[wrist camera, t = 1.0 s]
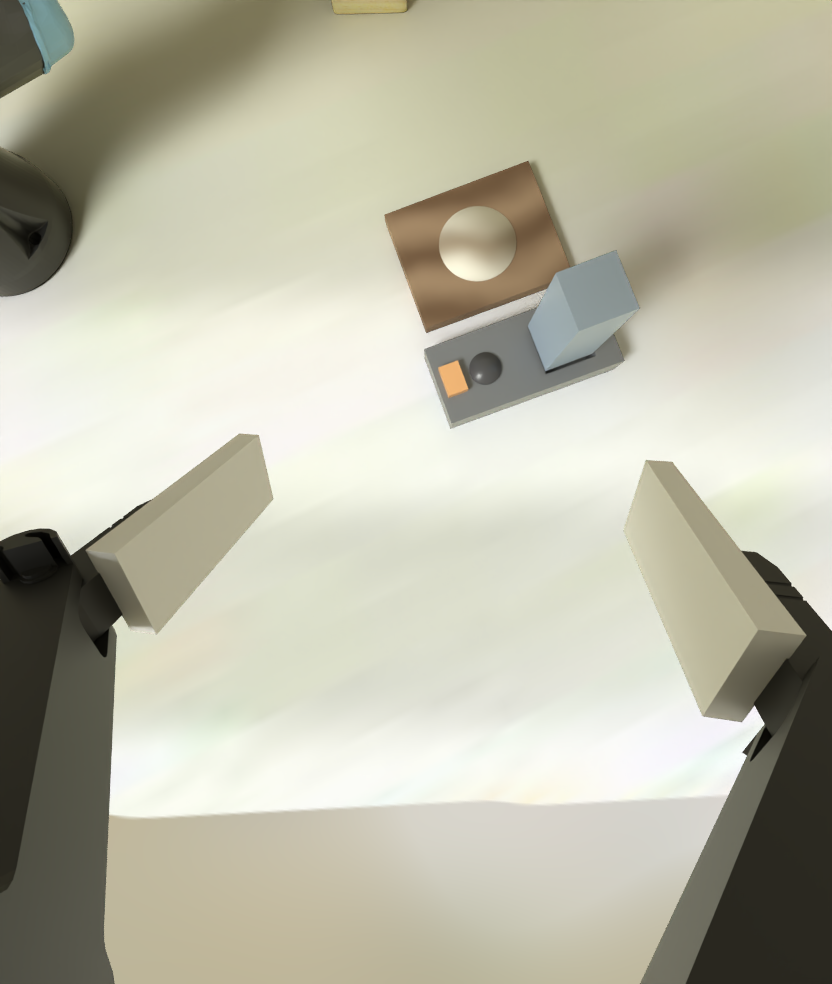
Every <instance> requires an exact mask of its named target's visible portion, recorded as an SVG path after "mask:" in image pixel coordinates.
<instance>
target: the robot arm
mask: <svg viewBox="0 0 832 984" xmlns="http://www.w3.org/2000/svg"><path fill="white" fill-rule="evenodd" d="M73 46H74V33H73V29H72V26H71V24H70V22H69V20H68V18H67V16H66V14H65V13H64V11H63V9H62V7H61V6H60V4H59V3H58V1H57V0H0V98H2V97H4V96H5V95H7V94H9V93H11V92H12V91H14V90H16V89H18V88H19V87H21V86H23V85H25V84H26V83H28V82H30V81H32V80H33V79H35V78H37V77H38V76H40V75H42V74H47V73H49V72H50V69H51V66H52V65H53V64H55V63H56V62H57V61H59V60H60V59H61V58H63V57H64V56H65V55H67V54H68V53H69V52H70V51H71V50H72V48H73ZM71 235H72V218H71V212H70V208H69V205H68V202H67V200H66V198H65V196H64V194H63V193H62V191H61V190H60V189H59V187H58V186H57V185H56V184H55V183H54V182H53V181H52V180H51V179H50V178H49V177H47V176H46V175H45V174H44V173H43V172H42V171H40V170H39V169H38V168H37V167H36V166H35V165H33V164H32V163H31V162H29V161H28V160H26V159H25V158H23V157H21V156H19V155H17V154H14V153H12V152H10V151H7V150H5V149H4V148H2V147H0V296H1V297H3V296H14V295H18V294H22V293H25V292H27V291H30V290H32V289H34V288H36V287H37V286H39V285H41V284H42V283H43V282H45V281H46V280H47V279H48V278H49V277H50V276H51V275H52V274H53V273H54V272H55V271H56V270H57V268H58V267H59V266H60V264H61V263H62V261H63V259H64V257H65V255H66V253H67V251H68V248H69V245H70V241H71ZM272 500H273V495H272V491H271V486H270V482H269V478H268V473H267V469H266V465H265V460H264V456H263V452H262V447H261V443H260V439H259V435H250V434H238V435H237V436H236V437H234V438H233V439H232V440H230V441H229V442H228V443H226V444H225V445H224V446H222V447H221V448H220V449H218V450H217V451H216V452H215V453H213V454H212V455H211V456H209V457H208V458H207V459H205V460H204V461H203V462H201V463H200V464H199V465H197V466H196V467H195V468H193V469H192V470H191V471H189V472H188V473H187V474H185V475H184V476H183V477H181V478H180V479H179V480H177V481H176V482H175V483H174V484H172V485H171V486H170V487H168V488H167V489H166V490H164V491H163V492H162V493H160V494H159V495H158V496H156V497H155V498H154V499H152V500H150V501H147V502H145V503H143V504H141V505H139V506H137V507H136V508H134V509H133V510H132V511H130V512H129V513H128V514H126V515H125V516H124V517H123V519H120V520H118V521H117V522H115V523H114V524H113V525H112V527H111V528H110V527H109V528H107V529H106V530H105V531H103V532H102V533H101V534H99V535H98V536H97V537H95V538H94V539H93V540H91V541H90V542H89V543H87V544H86V545H85V546H83V547H82V548H81V549H79V550H78V551H76V552H75V553H74V554H72V555H71V556H70V554H69V552H68V550H67V549H66V547H65V545H64V544H63V542H62V540H61V539H60V537H59V535H58V534H57V532H56V531H54V530H52V529H35V530H29V531H25V532H22V533H19V534H15V535H12V536H10V537H8V538H6V539H4V540H2V541H0V984H114V977H113V971H112V968H111V965H110V962H109V959H108V957H107V953H106V950H105V943H104V912H105V889H106V867H107V866H106V865H107V844H108V820H109V798H110V775H111V753H112V730H113V707H114V684H115V661H116V638H117V635H116V632H115V629H114V628H113V626H112V625H113V624H114V623H115V622H116V621H117V620H118V619H119V618H120V617H121V616H123V618H124V620H125V621H126V623H127V625H128V627H129V628H130V630H131V631H135V632H142V633H149V634H155V635H157V634H158V632H159V631H160V630H161V629H162V628H163V627H164V625H165V624H166V623H167V622H168V621H169V620H170V619H171V617H172V616H173V615H174V614H175V613H176V612H177V610H178V609H179V608H180V607H181V606H182V605H183V603H184V602H185V601H186V600H187V599H188V598H189V596H190V595H191V594H192V593H193V592H194V591H195V589H196V588H197V587H198V586H199V585H200V584H201V583H202V581H203V580H204V579H205V578H206V577H207V576H208V574H209V573H210V572H211V571H212V570H213V569H214V567H215V566H216V565H217V564H218V563H219V562H220V560H221V559H222V558H223V557H224V556H225V555H226V553H227V552H228V551H229V550H230V549H231V548H232V547H233V545H234V544H235V543H236V542H237V541H238V540H239V538H240V537H241V536H242V535H243V534H244V533H245V531H246V530H247V529H248V528H249V527H250V526H251V524H252V523H253V522H254V521H255V520H256V519H257V518H258V516H259V515H260V514H261V513H262V512H263V511H264V509H265V508H266V507H267V506H268V505H269V504H270V502H271V501H272ZM623 531H624V533H625V535H626V538H627V540H628V543H629V545H630V547H631V550H632V552H633V554H634V557H635V559H636V561H637V564H638V566H639V568H640V571H641V573H642V575H643V578H644V580H645V582H646V585H647V587H648V589H649V592H650V594H651V597H652V599H653V601H654V604H655V606H656V608H657V611H658V613H659V615H660V618H661V620H662V622H663V625H664V627H665V629H666V632H667V634H668V636H669V639H670V641H671V643H672V646H673V648H674V651H675V653H676V655H677V658H678V660H679V662H680V665H681V667H682V669H683V672H684V674H685V676H686V679H687V681H688V683H689V686H690V688H691V690H692V693H693V695H694V697H695V700H696V702H697V705H698V707H699V709H700V712H701V714H702V716H704V717H711V718H718V719H724V720H731V721H738V722H742V721H743V720H744V719H745V717H746V716H747V715H748V713H749V712H750V711H751V709H752V708H753V707H754V705H755V707H756V709H757V710H758V712H759V714H760V716H761V718H762V720H763V721H764V723H765V725H764V726H763V727H762V728H761V730H760V731H759V732H758V733H757V735H756V736H755V737H754V738H753V740H752V741H751V742H750V743H749V745H748V746H747V747H746V748H745V750H744V751H743V753H744V754H745V755H747V757H746V759H745V761H744V764H743V766H742V768H741V770H740V772H739V774H738V776H737V778H736V781H735V783H734V785H733V787H732V789H731V791H730V793H729V796H728V798H727V800H726V802H725V804H724V806H723V808H722V810H721V813H720V815H719V817H718V819H717V821H716V823H715V825H714V828H713V830H712V832H711V834H710V836H709V838H708V840H707V842H706V845H705V847H704V849H703V851H702V853H701V855H700V857H699V859H698V862H697V864H696V866H695V868H694V870H693V872H692V874H691V876H690V879H689V881H688V883H687V885H686V887H685V889H684V891H683V894H682V896H681V898H680V900H679V902H678V904H677V906H676V908H675V911H674V913H673V915H672V917H671V919H670V921H669V924H668V925H667V928H666V930H665V932H664V934H663V936H662V938H661V940H660V942H659V945H658V947H657V949H656V951H655V953H654V955H653V957H652V960H651V962H650V964H649V966H648V968H647V970H646V973H645V974H644V977H643V979H642V981H641V983H640V984H832V631H831V630H830V629H829V627H828V626H827V625H826V624H825V623H824V621H823V620H822V619H821V618H820V617H819V616H818V614H817V613H816V612H815V611H814V610H813V608H812V607H811V606H810V605H809V604H808V603H807V601H803V597H802V595H801V594H800V593H799V592H798V591H797V590H796V588H795V587H792V586H791V582H790V581H789V580H788V579H787V578H786V577H785V575H784V574H783V573H782V572H781V571H780V569H779V568H778V567H777V566H775V565H774V564H772V563H771V562H769V561H768V560H767V559H765V558H764V557H762V556H761V555H760V554H758V553H757V552H747V551H741V550H740V549H739V548H738V546H737V545H736V544H735V542H734V541H733V540H732V539H731V537H730V536H729V535H728V533H727V532H726V531H725V530H724V528H723V527H722V526H721V524H720V523H719V522H718V520H717V519H716V518H715V517H714V515H713V514H712V513H711V511H710V510H709V509H708V508H707V506H706V505H705V504H704V502H703V501H702V500H701V499H700V497H699V496H698V495H697V493H696V492H695V491H694V489H693V488H692V487H691V486H690V484H689V483H688V482H687V480H686V479H685V478H684V477H683V475H682V474H681V473H680V471H679V470H678V469H677V467H676V466H675V465H674V464H673V462H666V461H650V460H646V461H645V465H644V468H643V471H642V474H641V477H640V480H639V483H638V486H637V489H636V493H635V496H634V499H633V502H632V505H631V508H630V511H629V514H628V517H627V520H626V524H625V527H624V530H623Z"/></svg>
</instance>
